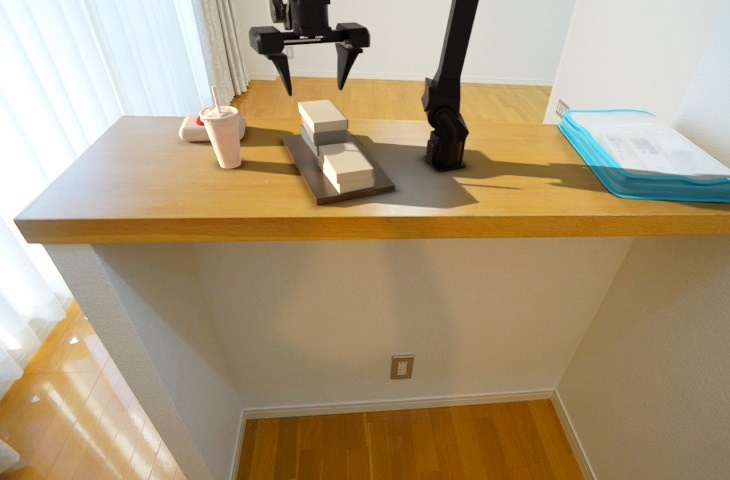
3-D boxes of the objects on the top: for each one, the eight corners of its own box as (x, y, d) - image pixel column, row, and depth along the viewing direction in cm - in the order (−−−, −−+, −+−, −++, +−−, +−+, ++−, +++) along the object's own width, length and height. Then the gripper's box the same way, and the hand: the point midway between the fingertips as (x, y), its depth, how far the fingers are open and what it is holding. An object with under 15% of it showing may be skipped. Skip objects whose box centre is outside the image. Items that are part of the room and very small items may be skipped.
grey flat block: (331, 121, 86) (330, 108, 84) (346, 142, 78) (346, 129, 76) (302, 123, 84) (300, 111, 82) (315, 146, 76) (314, 132, 74)
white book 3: (350, 159, 79) (350, 150, 77) (375, 186, 71) (375, 177, 70) (318, 165, 76) (317, 156, 75) (339, 193, 69) (339, 184, 68)
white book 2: (353, 150, 77) (353, 141, 76) (373, 178, 70) (374, 168, 69) (319, 155, 75) (318, 145, 74) (336, 184, 68) (336, 174, 66)
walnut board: (346, 133, 90) (346, 128, 90) (394, 191, 73) (394, 185, 72) (282, 141, 86) (281, 136, 85) (316, 205, 68) (316, 199, 67)
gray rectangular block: (329, 133, 87) (329, 121, 86) (348, 155, 80) (348, 142, 78) (301, 136, 85) (300, 124, 83) (318, 159, 78) (317, 146, 76)
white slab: (244, 103, 89) (240, 121, 81) (248, 123, 92) (244, 142, 84) (183, 104, 87) (173, 122, 79) (189, 124, 89) (180, 144, 82)
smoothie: (213, 174, 74) (192, 93, 65) (211, 158, 78) (191, 80, 69) (250, 169, 76) (235, 90, 67) (246, 154, 80) (232, 78, 71)
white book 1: (330, 108, 84) (330, 99, 83) (348, 129, 77) (348, 119, 75) (299, 111, 82) (298, 102, 81) (314, 133, 74) (313, 123, 73)
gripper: (343, -22, 71) (346, 74, 81) (232, -22, 64) (250, 84, 74) (372, -12, 64) (371, 92, 74) (249, -11, 57) (267, 104, 67)
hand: (315, 92), depth 72 cm, fingers open, 9 cm apart
